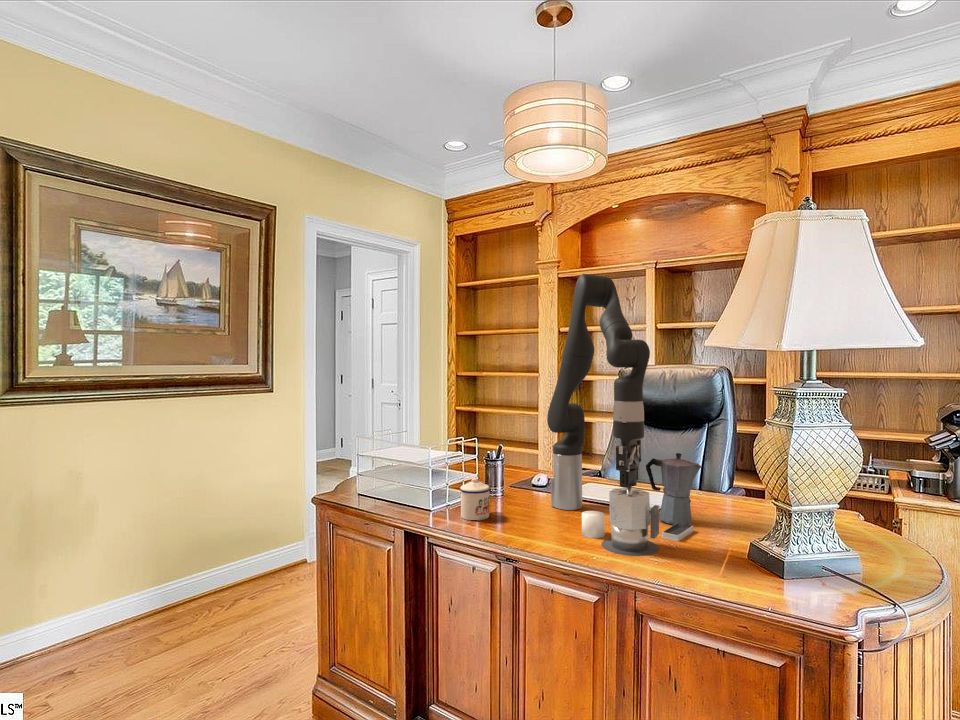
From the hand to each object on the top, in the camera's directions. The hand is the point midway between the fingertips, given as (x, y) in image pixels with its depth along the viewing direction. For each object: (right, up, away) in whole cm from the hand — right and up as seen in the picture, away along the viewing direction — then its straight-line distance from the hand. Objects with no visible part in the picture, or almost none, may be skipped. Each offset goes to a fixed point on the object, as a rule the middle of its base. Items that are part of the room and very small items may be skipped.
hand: (629, 483), depth 136 cm
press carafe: (+1, -16, -1) cm, 16 cm away
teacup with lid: (-38, -17, +29) cm, 51 cm away
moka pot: (+19, -16, +21) cm, 33 cm away
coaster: (0, -16, 0) cm, 16 cm away
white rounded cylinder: (-7, -16, +9) cm, 20 cm away
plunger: (0, -9, 0) cm, 9 cm away
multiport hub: (+15, -17, +9) cm, 24 cm away
